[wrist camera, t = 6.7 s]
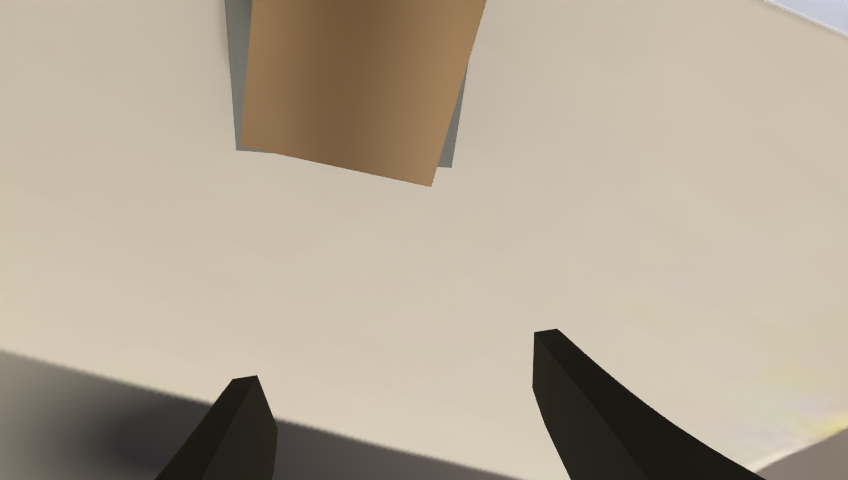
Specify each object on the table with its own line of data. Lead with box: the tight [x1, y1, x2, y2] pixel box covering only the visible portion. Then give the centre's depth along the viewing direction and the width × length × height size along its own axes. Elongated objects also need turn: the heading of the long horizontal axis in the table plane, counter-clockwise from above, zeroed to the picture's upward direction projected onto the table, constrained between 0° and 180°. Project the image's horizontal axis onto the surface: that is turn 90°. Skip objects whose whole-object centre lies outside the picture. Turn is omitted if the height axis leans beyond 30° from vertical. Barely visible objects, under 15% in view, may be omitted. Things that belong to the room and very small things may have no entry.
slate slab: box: [225, 0, 468, 168], centre depth 16 cm, size 8×8×3 cm
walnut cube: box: [240, 0, 486, 187], centre depth 13 cm, size 5×5×5 cm
